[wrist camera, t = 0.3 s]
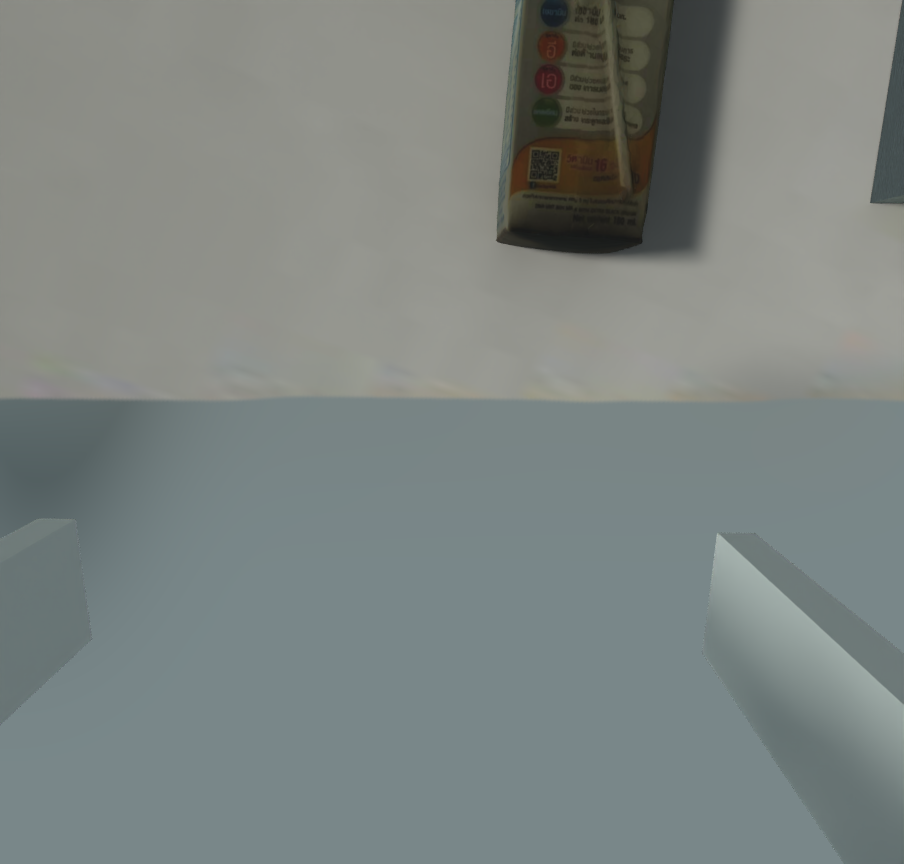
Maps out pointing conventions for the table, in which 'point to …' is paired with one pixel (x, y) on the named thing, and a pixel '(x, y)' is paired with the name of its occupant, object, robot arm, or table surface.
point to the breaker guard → (892, 132)
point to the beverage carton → (581, 123)
